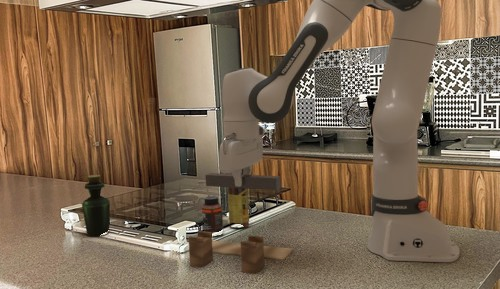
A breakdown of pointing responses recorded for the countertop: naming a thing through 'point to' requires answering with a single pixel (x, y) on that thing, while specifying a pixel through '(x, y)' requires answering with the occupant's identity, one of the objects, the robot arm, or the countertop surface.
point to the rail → (244, 181)
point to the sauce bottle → (238, 205)
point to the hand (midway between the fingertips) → (242, 184)
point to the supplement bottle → (212, 215)
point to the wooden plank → (235, 249)
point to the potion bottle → (96, 208)
